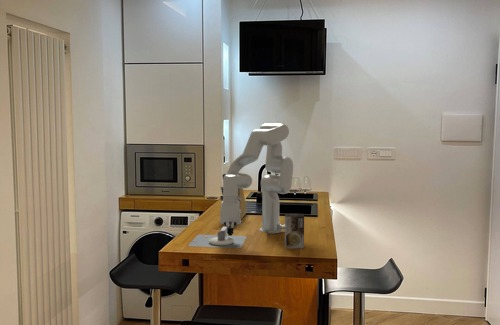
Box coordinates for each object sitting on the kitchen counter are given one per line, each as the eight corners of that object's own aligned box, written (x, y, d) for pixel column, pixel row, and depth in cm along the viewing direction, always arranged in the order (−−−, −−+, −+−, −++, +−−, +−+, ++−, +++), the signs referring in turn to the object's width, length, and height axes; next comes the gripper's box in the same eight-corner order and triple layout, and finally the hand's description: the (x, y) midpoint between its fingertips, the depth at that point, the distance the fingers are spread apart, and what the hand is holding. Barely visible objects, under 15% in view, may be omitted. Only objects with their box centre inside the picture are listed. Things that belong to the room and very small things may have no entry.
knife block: (218, 223, 301) (219, 172, 298) (230, 212, 336) (230, 166, 333) (237, 224, 299) (237, 172, 296) (247, 213, 334) (247, 166, 331)
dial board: (246, 239, 265) (246, 235, 265) (240, 251, 242) (240, 247, 241) (198, 237, 268) (198, 234, 268) (187, 249, 244) (187, 245, 244)
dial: (231, 245, 245) (231, 235, 244) (207, 244, 246) (207, 234, 246) (236, 236, 263) (236, 227, 262) (213, 236, 264) (213, 226, 264)
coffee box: (302, 245, 254) (303, 213, 252) (304, 248, 248) (304, 216, 246) (284, 245, 254) (284, 213, 252) (285, 248, 247) (286, 215, 246)
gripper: (246, 198, 258) (245, 234, 260) (217, 197, 260) (216, 233, 261) (244, 201, 251) (244, 237, 252) (214, 200, 252) (214, 236, 254)
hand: (230, 235), depth 257 cm, fingers closed
